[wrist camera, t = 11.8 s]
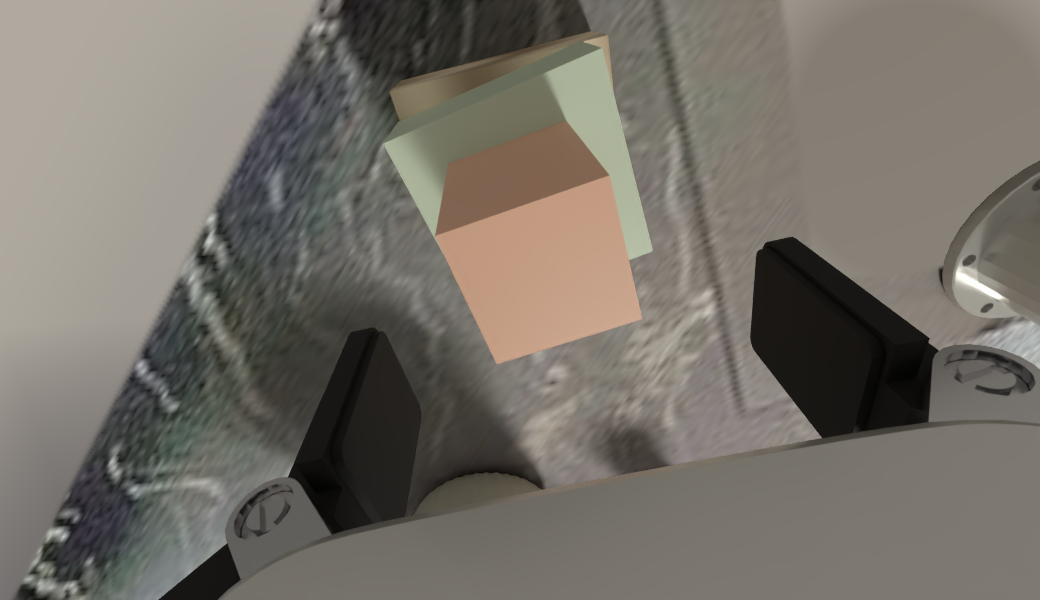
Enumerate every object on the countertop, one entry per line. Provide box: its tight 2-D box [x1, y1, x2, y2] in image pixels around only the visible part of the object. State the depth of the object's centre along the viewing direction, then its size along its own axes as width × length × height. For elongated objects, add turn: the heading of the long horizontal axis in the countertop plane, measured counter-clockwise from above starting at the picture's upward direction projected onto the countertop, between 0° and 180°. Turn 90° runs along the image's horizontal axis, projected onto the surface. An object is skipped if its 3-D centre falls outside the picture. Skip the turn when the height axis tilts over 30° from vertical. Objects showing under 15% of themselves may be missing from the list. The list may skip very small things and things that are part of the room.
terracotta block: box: [435, 121, 642, 364], centre depth 17 cm, size 5×5×7 cm
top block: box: [383, 41, 653, 260], centre depth 21 cm, size 9×9×4 cm
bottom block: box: [389, 31, 614, 278], centre depth 25 cm, size 10×10×4 cm
